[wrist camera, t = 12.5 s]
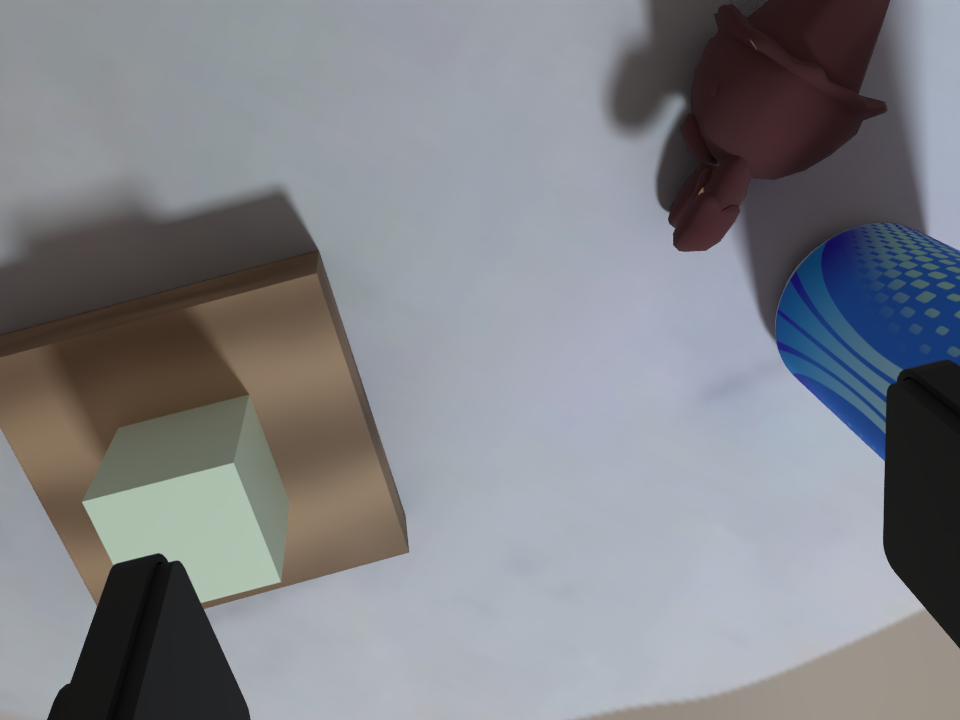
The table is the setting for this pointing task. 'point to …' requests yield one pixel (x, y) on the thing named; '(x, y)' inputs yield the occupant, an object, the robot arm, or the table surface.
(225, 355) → the walnut base
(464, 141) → the table surface
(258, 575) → the sage cube
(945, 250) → the beer can
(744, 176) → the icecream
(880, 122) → the table surface
